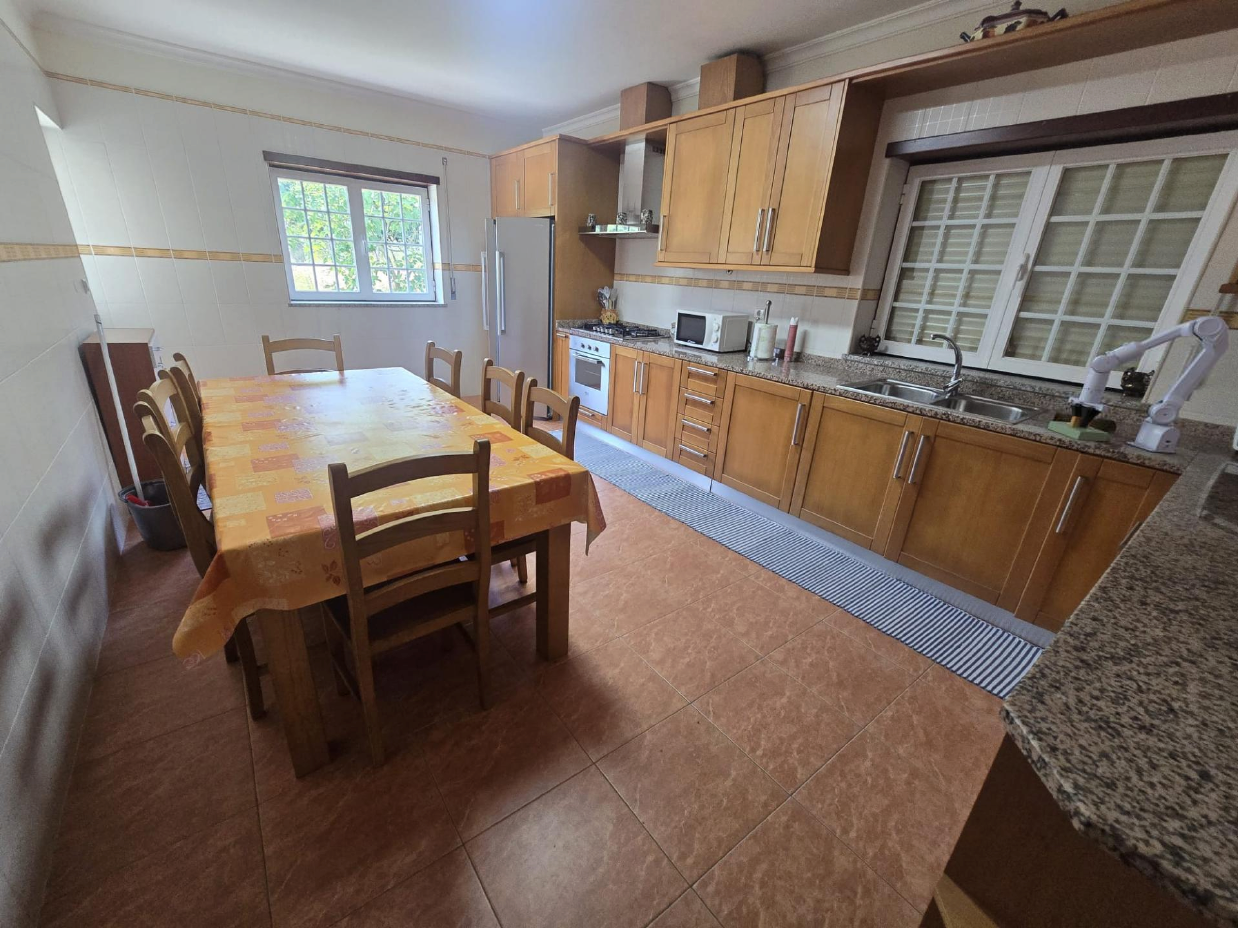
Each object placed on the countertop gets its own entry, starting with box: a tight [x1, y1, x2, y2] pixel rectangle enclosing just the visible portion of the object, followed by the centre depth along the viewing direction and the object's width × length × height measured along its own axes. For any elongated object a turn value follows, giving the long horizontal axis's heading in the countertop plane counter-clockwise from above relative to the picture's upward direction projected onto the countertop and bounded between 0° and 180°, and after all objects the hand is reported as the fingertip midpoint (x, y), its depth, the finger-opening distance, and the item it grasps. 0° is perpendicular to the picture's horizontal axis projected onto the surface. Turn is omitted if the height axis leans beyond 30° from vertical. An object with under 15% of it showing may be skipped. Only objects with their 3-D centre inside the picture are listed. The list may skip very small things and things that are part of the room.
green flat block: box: [1047, 420, 1110, 442], centre depth 185 cm, size 14×10×3 cm
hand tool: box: [1052, 411, 1118, 433], centre depth 198 cm, size 19×4×5 cm, turn 37°
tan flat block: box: [1069, 416, 1091, 428], centre depth 184 cm, size 6×1×4 cm, turn 88°
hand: (1079, 425), depth 184 cm, fingers open, 3 cm apart
